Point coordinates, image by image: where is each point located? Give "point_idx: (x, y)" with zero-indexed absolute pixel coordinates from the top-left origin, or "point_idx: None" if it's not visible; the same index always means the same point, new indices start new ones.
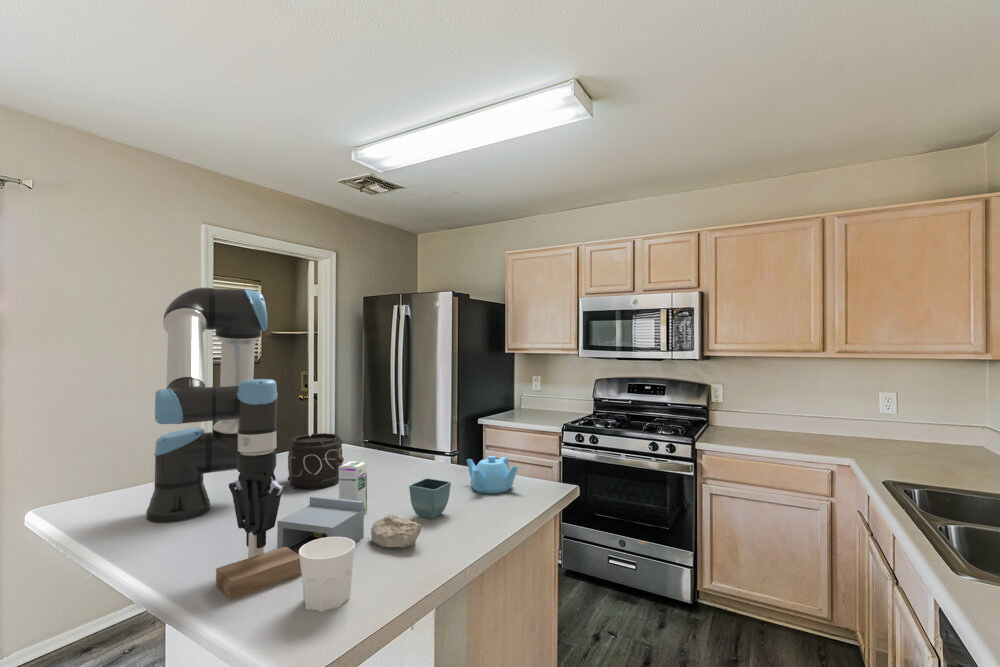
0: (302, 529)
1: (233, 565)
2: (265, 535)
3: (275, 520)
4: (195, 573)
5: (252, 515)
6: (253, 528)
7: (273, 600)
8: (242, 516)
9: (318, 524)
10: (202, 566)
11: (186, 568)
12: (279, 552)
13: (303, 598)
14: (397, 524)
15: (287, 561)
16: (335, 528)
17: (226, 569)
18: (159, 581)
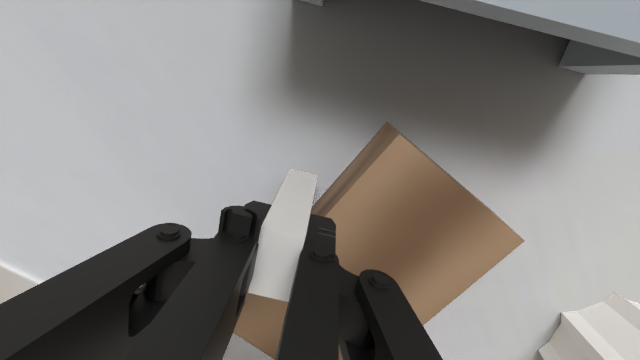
0: (478, 13)
1: (270, 307)
2: (334, 251)
3: (415, 318)
4: (113, 211)
5: (216, 356)
6: (250, 271)
7: (450, 346)
8: (131, 339)
9: (637, 9)
10: (91, 162)
11: (51, 179)
12: (397, 199)
13: (541, 355)
14: None
15: (468, 277)
16: None
17: (266, 334)
18: (53, 260)
